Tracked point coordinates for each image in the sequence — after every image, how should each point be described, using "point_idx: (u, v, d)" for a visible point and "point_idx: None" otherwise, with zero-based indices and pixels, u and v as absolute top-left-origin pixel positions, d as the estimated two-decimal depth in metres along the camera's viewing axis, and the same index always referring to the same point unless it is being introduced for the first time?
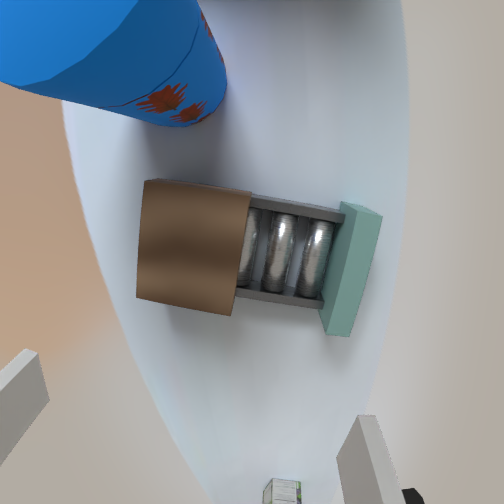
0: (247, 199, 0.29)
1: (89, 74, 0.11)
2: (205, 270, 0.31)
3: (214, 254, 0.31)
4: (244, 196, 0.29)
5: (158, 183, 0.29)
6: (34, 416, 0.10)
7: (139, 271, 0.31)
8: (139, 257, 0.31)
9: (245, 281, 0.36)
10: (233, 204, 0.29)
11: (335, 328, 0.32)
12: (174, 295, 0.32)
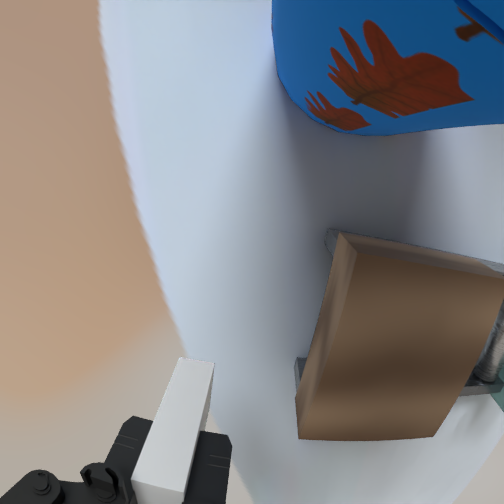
0: None
1: None
2: (425, 392, 0.16)
3: (445, 368, 0.16)
4: None
5: (385, 258, 0.14)
6: None
7: (315, 406, 0.16)
8: (321, 387, 0.16)
9: None
10: (490, 293, 0.14)
11: None
12: (367, 429, 0.17)
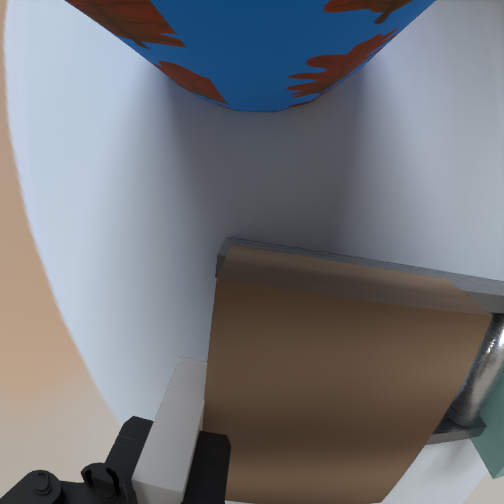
0: (486, 323, 0.09)
1: None
2: (360, 461, 0.11)
3: (388, 435, 0.11)
4: (483, 317, 0.09)
5: (265, 289, 0.09)
6: None
7: None
8: None
9: None
10: (459, 336, 0.10)
11: None
12: (282, 495, 0.12)
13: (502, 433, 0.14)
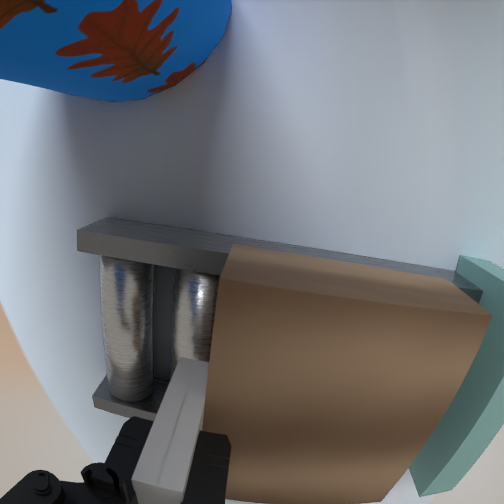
0: (486, 323, 0.09)
1: None
2: (360, 460, 0.12)
3: (388, 434, 0.11)
4: (483, 317, 0.09)
5: (268, 288, 0.09)
6: None
7: None
8: None
9: None
10: (459, 336, 0.10)
11: (436, 487, 0.13)
12: (283, 493, 0.12)
13: (430, 445, 0.14)
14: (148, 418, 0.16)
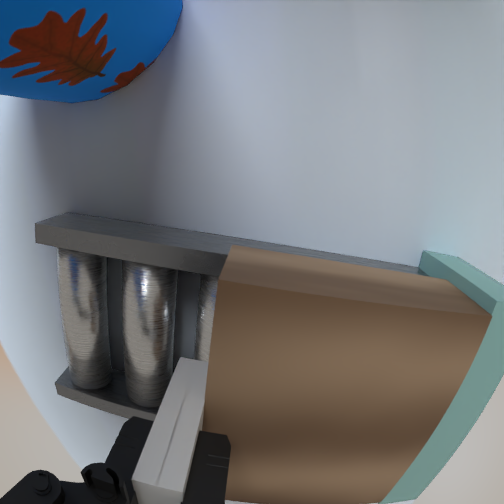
0: (486, 323, 0.09)
1: None
2: (360, 461, 0.11)
3: (388, 435, 0.11)
4: (483, 317, 0.09)
5: (267, 289, 0.09)
6: None
7: None
8: None
9: None
10: (459, 337, 0.10)
11: (397, 495, 0.13)
12: (283, 494, 0.12)
13: None
14: (105, 406, 0.16)
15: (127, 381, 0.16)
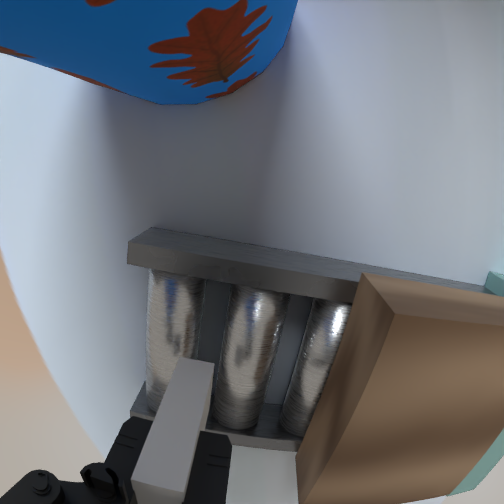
0: None
1: None
2: (450, 457, 0.11)
3: (476, 432, 0.11)
4: None
5: (429, 319, 0.09)
6: None
7: (321, 482, 0.12)
8: (330, 464, 0.11)
9: None
10: None
11: (462, 487, 0.13)
12: (379, 496, 0.12)
13: None
14: None
15: (219, 405, 0.16)
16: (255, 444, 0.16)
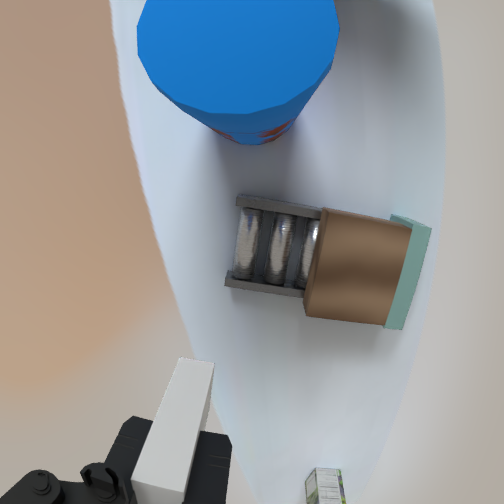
0: (410, 231, 0.33)
1: (274, 114, 0.16)
2: (372, 289, 0.35)
3: (381, 275, 0.35)
4: (408, 229, 0.33)
5: (342, 215, 0.33)
6: None
7: (314, 292, 0.36)
8: (316, 280, 0.35)
9: None
10: (400, 235, 0.34)
11: (391, 322, 0.36)
12: (343, 311, 0.36)
13: None
14: (253, 287, 0.40)
15: (268, 271, 0.40)
16: (283, 292, 0.40)
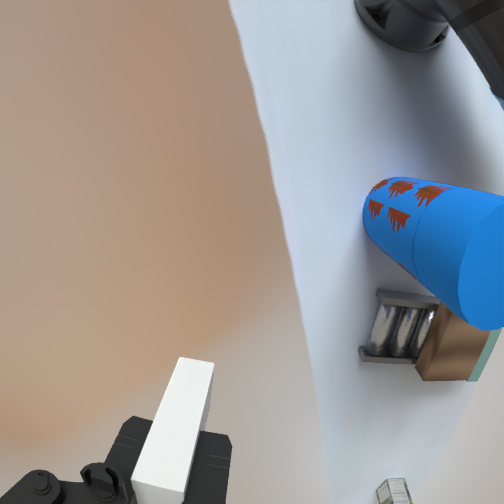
0: None
1: None
2: (466, 358, 0.41)
3: (473, 349, 0.41)
4: None
5: None
6: None
7: (431, 365, 0.42)
8: (435, 357, 0.41)
9: None
10: None
11: (472, 377, 0.42)
12: (446, 374, 0.42)
13: None
14: (383, 360, 0.46)
15: (394, 348, 0.46)
16: (403, 362, 0.46)
